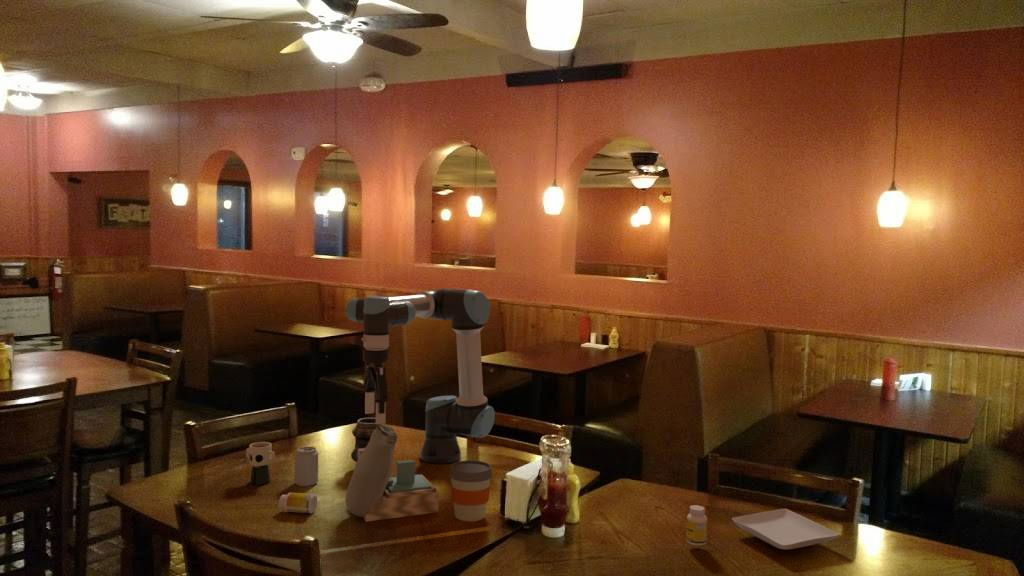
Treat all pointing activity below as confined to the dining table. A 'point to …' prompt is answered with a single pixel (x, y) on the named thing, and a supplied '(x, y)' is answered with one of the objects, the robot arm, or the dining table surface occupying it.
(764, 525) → the salad plate
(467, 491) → the reusable coffee cup
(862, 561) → the dining table surface
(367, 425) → the apothecary jar
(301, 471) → the can
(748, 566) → the dining table surface
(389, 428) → the brown rounded cylinder
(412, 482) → the cover
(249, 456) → the character mug
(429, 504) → the latch box
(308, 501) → the supplement bottle
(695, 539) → the supplement bottle
